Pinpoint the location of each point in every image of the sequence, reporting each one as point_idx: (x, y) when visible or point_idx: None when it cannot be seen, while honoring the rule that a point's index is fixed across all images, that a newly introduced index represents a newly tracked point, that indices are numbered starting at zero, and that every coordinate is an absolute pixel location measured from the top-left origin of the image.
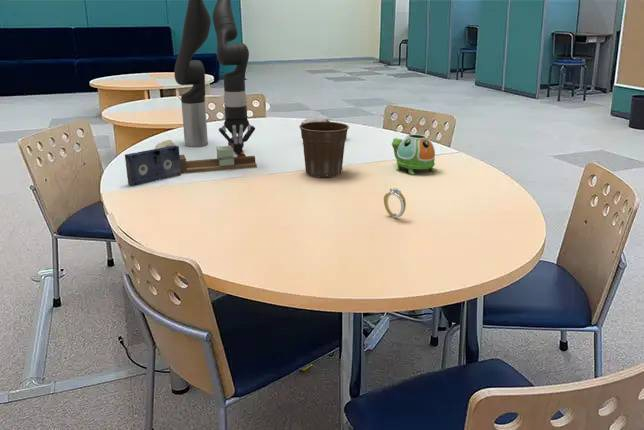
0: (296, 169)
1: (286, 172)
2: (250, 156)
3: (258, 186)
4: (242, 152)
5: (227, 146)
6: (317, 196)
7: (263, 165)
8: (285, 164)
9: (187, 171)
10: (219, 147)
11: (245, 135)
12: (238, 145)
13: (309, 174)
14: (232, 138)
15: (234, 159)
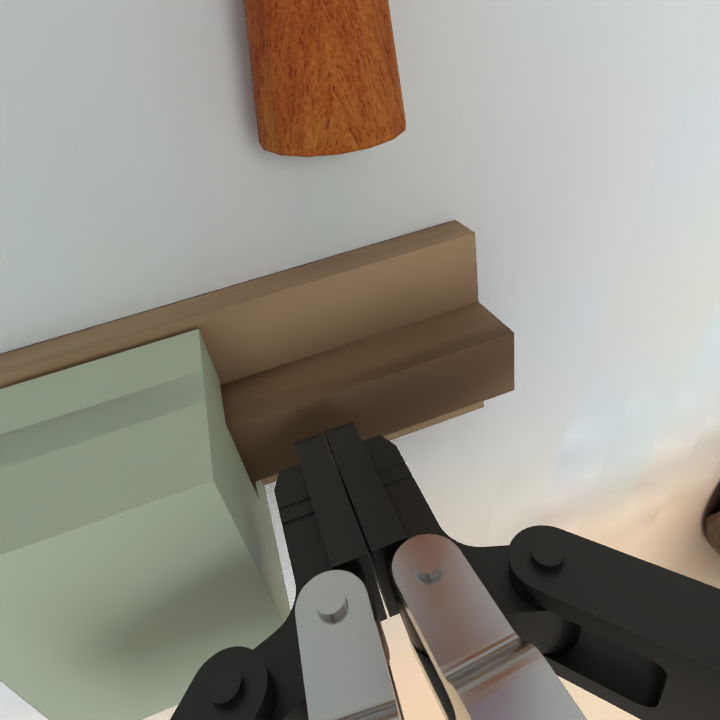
0: (710, 419)
1: (627, 487)
2: (466, 374)
3: (424, 702)
4: (366, 27)
5: (165, 547)
6: (607, 713)
7: (534, 321)
8: (711, 287)
9: None
10: (14, 630)
11: (616, 629)
12: (383, 597)
13: (710, 541)
14: (306, 691)
15: (269, 467)
